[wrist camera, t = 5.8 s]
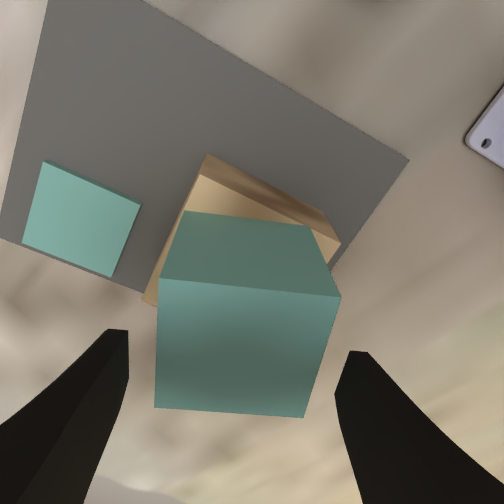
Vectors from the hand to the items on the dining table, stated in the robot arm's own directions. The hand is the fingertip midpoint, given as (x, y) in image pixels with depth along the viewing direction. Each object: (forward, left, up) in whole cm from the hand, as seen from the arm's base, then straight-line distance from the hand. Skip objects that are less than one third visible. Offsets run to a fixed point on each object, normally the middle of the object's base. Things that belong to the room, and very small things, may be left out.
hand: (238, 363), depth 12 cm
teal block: (0, 0, -6) cm, 6 cm away
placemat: (+3, -1, -10) cm, 11 cm away
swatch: (+8, +3, -10) cm, 13 cm away
